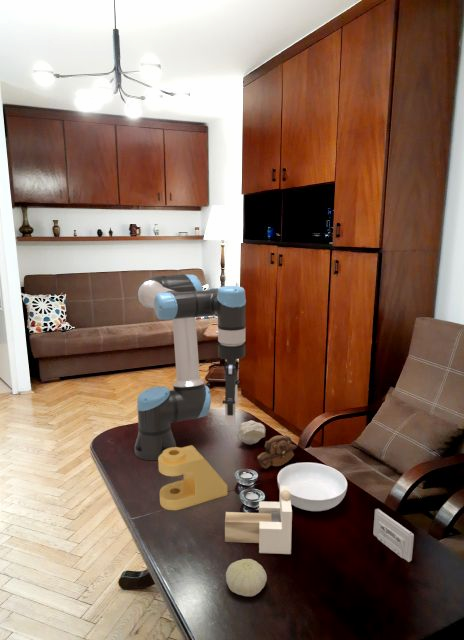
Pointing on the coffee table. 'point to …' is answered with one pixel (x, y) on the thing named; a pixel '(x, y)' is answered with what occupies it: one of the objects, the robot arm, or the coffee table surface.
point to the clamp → (188, 479)
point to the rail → (246, 525)
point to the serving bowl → (313, 485)
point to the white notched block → (276, 525)
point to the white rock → (251, 432)
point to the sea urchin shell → (246, 577)
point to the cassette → (393, 535)
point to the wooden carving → (277, 451)
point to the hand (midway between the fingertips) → (231, 414)
